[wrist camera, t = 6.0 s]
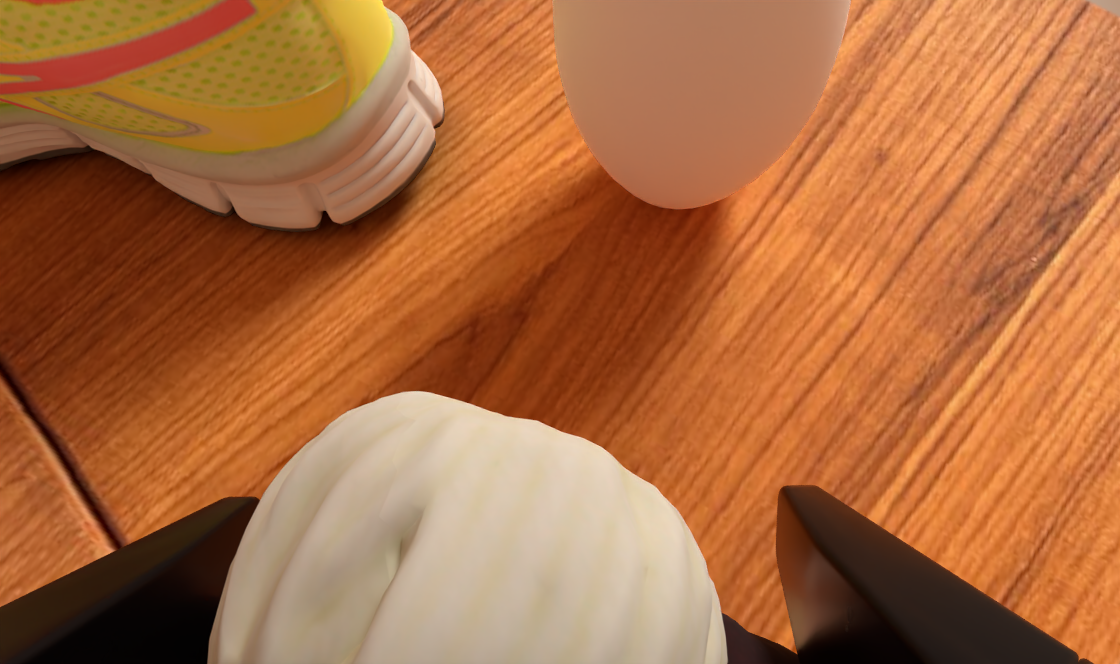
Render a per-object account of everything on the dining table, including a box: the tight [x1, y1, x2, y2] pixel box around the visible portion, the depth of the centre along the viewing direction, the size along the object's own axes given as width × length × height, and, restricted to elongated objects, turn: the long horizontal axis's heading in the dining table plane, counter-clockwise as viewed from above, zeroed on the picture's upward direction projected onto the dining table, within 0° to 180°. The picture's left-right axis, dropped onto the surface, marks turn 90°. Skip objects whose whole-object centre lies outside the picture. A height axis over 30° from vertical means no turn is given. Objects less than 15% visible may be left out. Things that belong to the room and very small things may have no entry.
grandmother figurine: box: [207, 391, 800, 664], centre depth 9 cm, size 8×4×13 cm, turn 94°
